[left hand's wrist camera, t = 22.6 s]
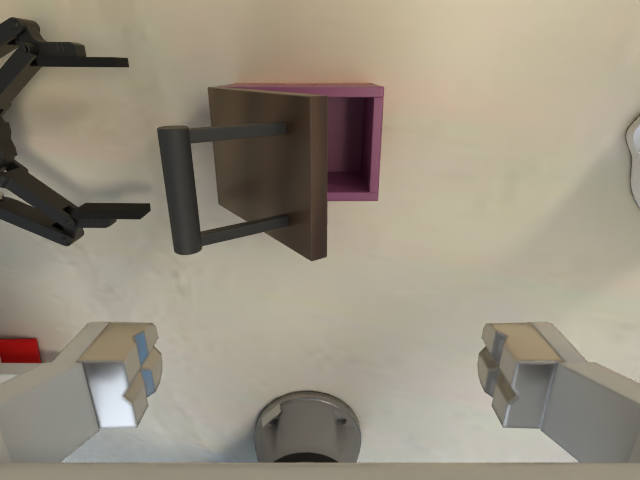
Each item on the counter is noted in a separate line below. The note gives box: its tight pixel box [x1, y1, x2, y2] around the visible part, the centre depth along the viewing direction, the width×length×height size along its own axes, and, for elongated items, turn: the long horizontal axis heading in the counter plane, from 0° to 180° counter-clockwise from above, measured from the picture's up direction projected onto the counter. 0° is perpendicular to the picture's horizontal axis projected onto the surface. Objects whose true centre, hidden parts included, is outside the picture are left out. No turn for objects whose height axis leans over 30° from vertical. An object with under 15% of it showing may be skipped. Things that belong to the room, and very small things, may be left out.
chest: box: [219, 83, 384, 201], centre depth 41 cm, size 14×10×9 cm
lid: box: [157, 87, 328, 261], centre depth 29 cm, size 15×10×9 cm
